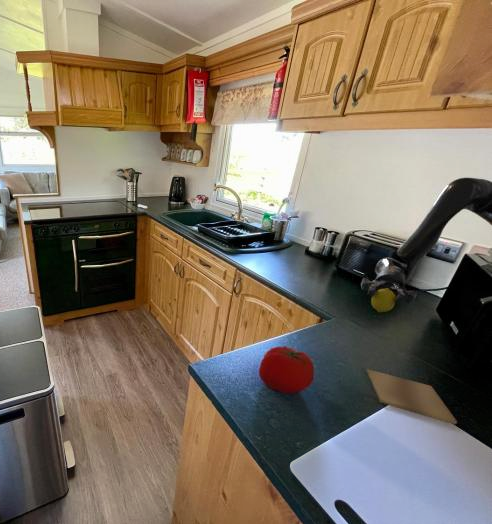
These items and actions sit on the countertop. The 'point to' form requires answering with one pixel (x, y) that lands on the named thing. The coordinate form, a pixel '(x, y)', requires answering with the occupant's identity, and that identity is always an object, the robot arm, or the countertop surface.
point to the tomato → (286, 370)
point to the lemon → (383, 300)
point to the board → (409, 396)
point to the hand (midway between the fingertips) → (384, 297)
